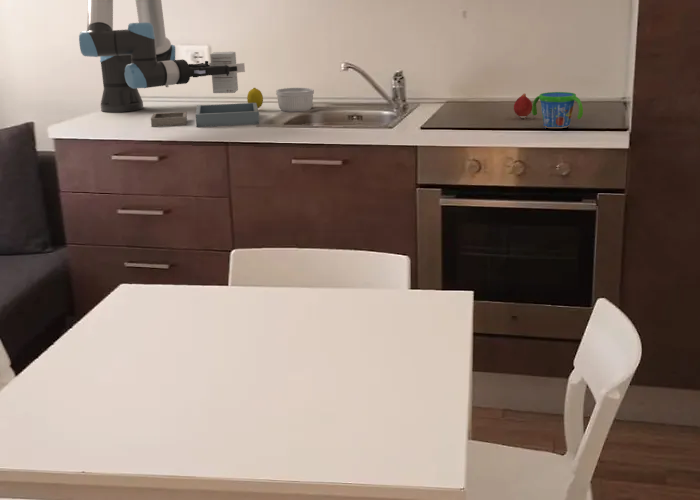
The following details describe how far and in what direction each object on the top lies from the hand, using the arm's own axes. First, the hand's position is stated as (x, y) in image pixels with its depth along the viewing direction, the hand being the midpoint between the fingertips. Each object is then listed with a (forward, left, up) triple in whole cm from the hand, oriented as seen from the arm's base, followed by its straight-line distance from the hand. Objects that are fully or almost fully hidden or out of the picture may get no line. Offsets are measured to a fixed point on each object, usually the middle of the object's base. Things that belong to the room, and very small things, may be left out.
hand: (235, 66), depth 289 cm
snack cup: (+46, +93, -18) cm, 105 cm away
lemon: (-17, +6, -17) cm, 25 cm away
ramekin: (-15, +20, -18) cm, 31 cm away
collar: (+1, -23, -17) cm, 29 cm away
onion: (+27, +89, -17) cm, 95 cm away
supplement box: (+2, -4, -8) cm, 9 cm away
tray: (+2, -4, -17) cm, 18 cm away
